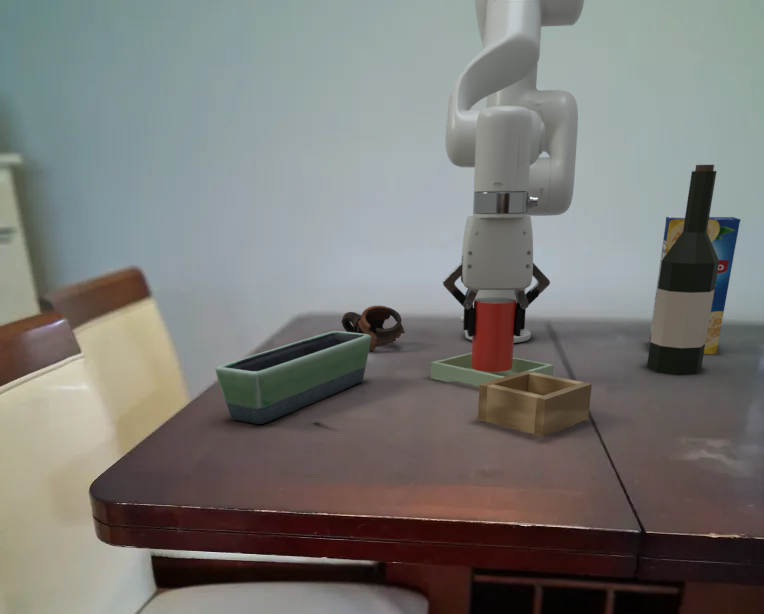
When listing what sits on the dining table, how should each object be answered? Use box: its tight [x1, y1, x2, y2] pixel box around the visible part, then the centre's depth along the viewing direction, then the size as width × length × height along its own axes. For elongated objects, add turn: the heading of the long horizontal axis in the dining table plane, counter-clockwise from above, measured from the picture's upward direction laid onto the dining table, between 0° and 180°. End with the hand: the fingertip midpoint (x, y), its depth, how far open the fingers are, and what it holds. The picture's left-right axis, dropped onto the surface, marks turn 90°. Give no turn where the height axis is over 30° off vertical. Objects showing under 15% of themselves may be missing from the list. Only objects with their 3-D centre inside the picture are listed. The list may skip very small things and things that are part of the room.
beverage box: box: [648, 216, 742, 355], centre depth 129 cm, size 7×11×22 cm, turn 75°
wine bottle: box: [646, 164, 719, 376], centre depth 114 cm, size 8×8×30 cm
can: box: [471, 297, 516, 372], centre depth 112 cm, size 6×6×10 cm
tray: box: [430, 351, 554, 387], centre depth 114 cm, size 15×12×3 cm
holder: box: [477, 371, 593, 438], centre depth 94 cm, size 10×10×5 cm
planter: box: [215, 330, 371, 425], centre depth 104 cm, size 28×7×7 cm, turn 150°
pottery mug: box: [340, 305, 406, 352], centre depth 137 cm, size 12×10×8 cm
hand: (493, 333), depth 112 cm, fingers closed on can, 6 cm apart
